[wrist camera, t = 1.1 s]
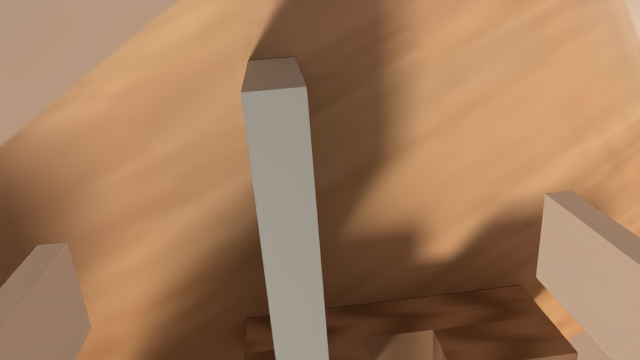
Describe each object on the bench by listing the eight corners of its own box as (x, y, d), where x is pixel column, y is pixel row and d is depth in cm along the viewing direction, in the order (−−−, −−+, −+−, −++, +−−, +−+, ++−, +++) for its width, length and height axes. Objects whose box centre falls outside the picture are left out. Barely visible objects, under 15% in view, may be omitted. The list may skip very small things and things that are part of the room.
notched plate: (274, 275, 38) (277, 370, 29) (248, 60, 32) (240, 92, 23) (313, 271, 38) (329, 363, 29) (295, 56, 32) (306, 86, 23)
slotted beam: (251, 349, 40) (248, 432, 33) (247, 318, 39) (242, 396, 32) (518, 315, 42) (572, 388, 34) (520, 285, 41) (577, 352, 33)
